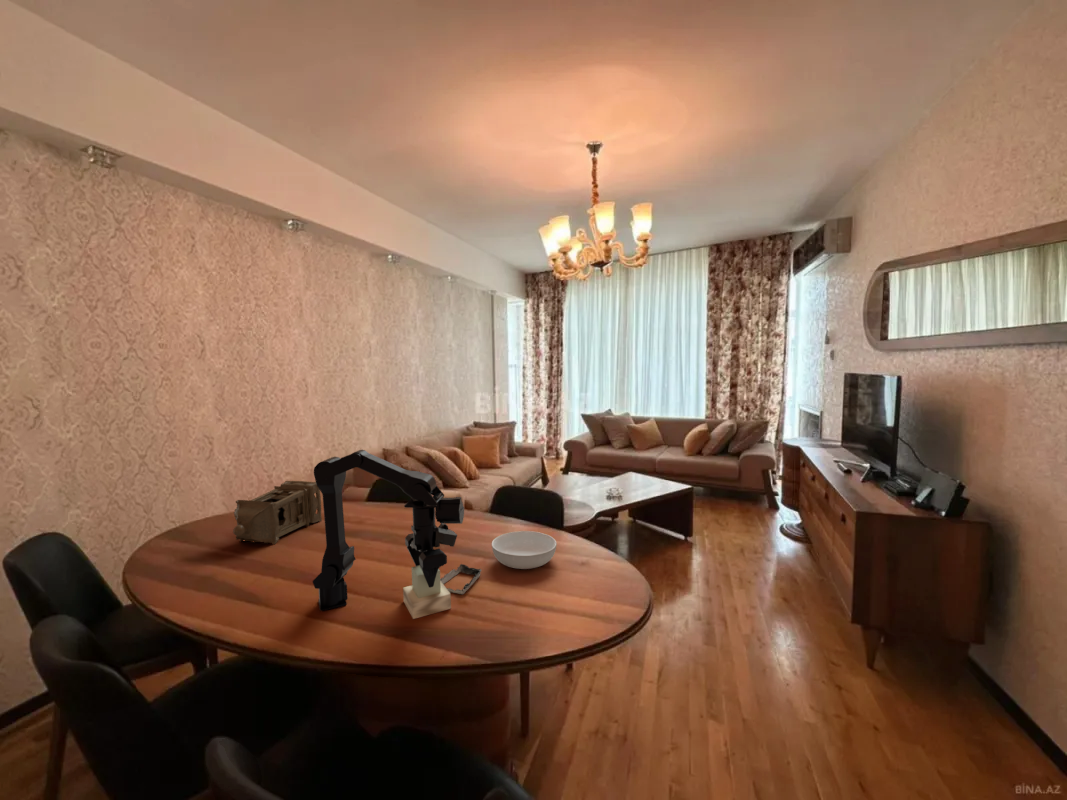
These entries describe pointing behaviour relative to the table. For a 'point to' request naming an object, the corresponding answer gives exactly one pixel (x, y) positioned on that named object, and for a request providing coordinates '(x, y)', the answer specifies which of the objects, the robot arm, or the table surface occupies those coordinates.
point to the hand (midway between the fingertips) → (426, 579)
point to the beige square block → (426, 602)
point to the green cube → (424, 583)
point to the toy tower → (278, 512)
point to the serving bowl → (524, 549)
